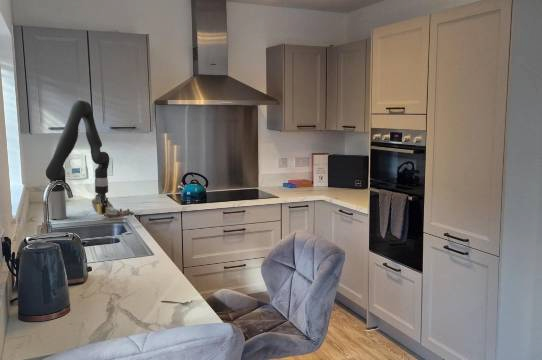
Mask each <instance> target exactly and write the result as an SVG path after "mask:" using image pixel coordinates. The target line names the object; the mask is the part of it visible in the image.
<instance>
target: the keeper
mask: <svg viewBox="0 0 542 360" xmlns="http://www.w3.org/2000/svg"><path fill="white" fill-rule="evenodd" d="M117 210H118V209H116V208H114V207H113V208H112V207H109V208H107V214H109V215H116V214H118V213H117Z"/></svg>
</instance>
